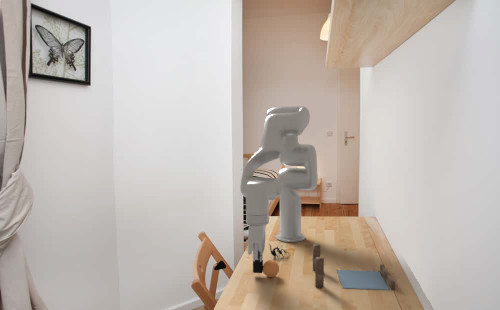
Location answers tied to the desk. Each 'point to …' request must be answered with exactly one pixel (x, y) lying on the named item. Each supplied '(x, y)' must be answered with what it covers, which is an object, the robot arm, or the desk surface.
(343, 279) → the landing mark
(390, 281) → the wall
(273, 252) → the creature
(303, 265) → the desk surface
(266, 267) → the ball
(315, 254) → the post near arm
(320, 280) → the post near camera
